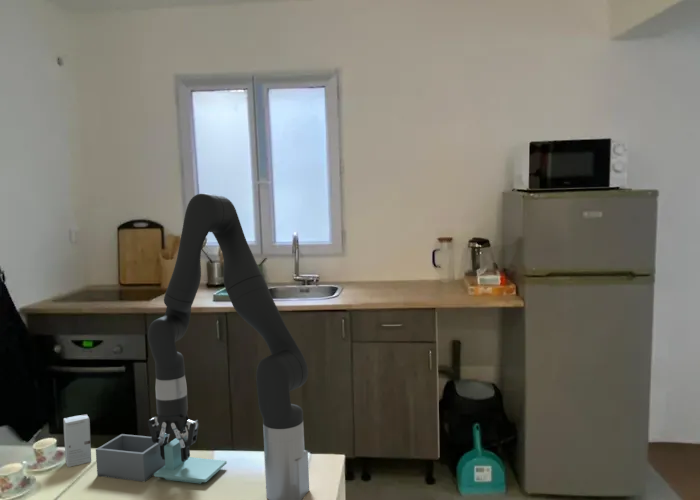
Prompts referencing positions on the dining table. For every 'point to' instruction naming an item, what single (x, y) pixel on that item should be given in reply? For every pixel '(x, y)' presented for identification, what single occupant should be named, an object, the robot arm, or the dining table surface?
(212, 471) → the tub lid
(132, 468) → the box
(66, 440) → the skincare box
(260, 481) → the dining table surface
